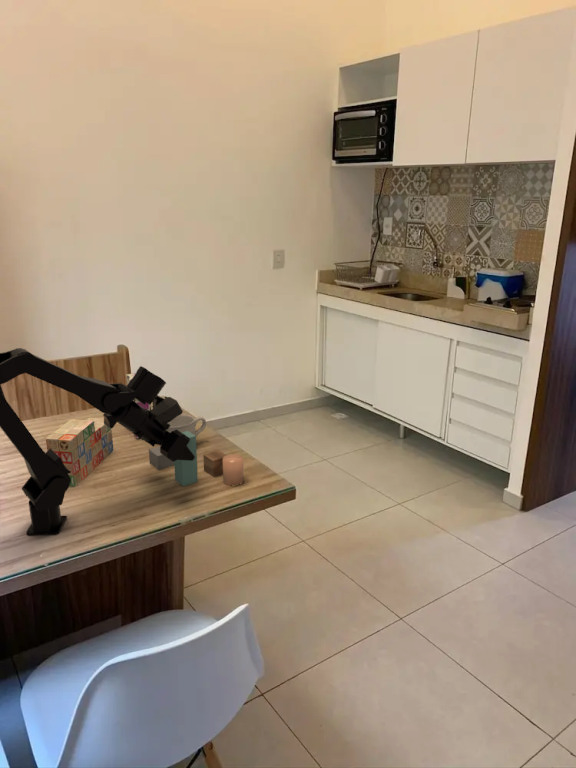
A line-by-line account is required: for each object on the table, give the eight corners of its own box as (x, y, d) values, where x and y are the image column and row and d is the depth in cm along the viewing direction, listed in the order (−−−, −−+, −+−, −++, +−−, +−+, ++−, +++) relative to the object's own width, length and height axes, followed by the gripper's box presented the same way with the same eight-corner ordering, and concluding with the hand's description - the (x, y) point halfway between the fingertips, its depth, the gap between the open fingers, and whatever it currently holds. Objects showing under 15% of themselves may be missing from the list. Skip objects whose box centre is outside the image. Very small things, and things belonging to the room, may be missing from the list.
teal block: (183, 486, 138) (181, 440, 134) (175, 480, 141) (172, 434, 137) (197, 481, 140) (195, 436, 137) (189, 475, 143) (187, 430, 140)
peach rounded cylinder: (243, 485, 139) (243, 463, 137) (222, 486, 138) (222, 463, 136) (243, 476, 143) (243, 454, 142) (223, 476, 143) (222, 454, 141)
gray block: (158, 470, 146) (157, 456, 145) (149, 463, 150) (148, 449, 149) (176, 465, 149) (175, 451, 148) (167, 458, 153) (166, 444, 152)
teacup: (157, 456, 154) (156, 428, 151) (155, 440, 163) (153, 414, 161) (210, 451, 157) (209, 423, 155) (204, 436, 167) (204, 410, 165)
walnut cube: (213, 477, 143) (212, 460, 141) (203, 470, 146) (203, 454, 145) (228, 472, 145) (228, 455, 144) (219, 466, 149) (218, 450, 147)
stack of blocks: (92, 448, 158) (88, 406, 154) (114, 450, 157) (110, 407, 153) (50, 485, 138) (44, 437, 134) (75, 487, 137) (70, 439, 133)
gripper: (179, 401, 123) (224, 436, 133) (140, 380, 136) (184, 413, 146) (147, 444, 120) (196, 477, 130) (111, 418, 134) (157, 449, 144)
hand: (183, 452), depth 138 cm, fingers open, 9 cm apart
